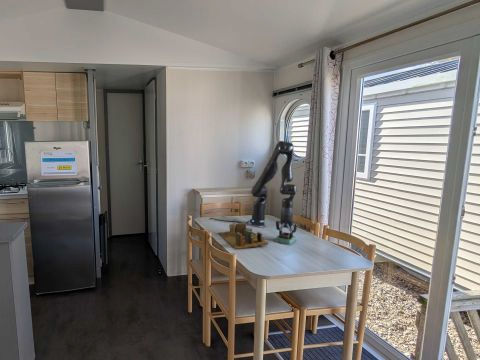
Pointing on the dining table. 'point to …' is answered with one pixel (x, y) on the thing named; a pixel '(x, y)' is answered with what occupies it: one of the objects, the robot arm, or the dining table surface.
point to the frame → (285, 235)
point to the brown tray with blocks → (242, 236)
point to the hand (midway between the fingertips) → (285, 236)
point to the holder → (285, 240)
